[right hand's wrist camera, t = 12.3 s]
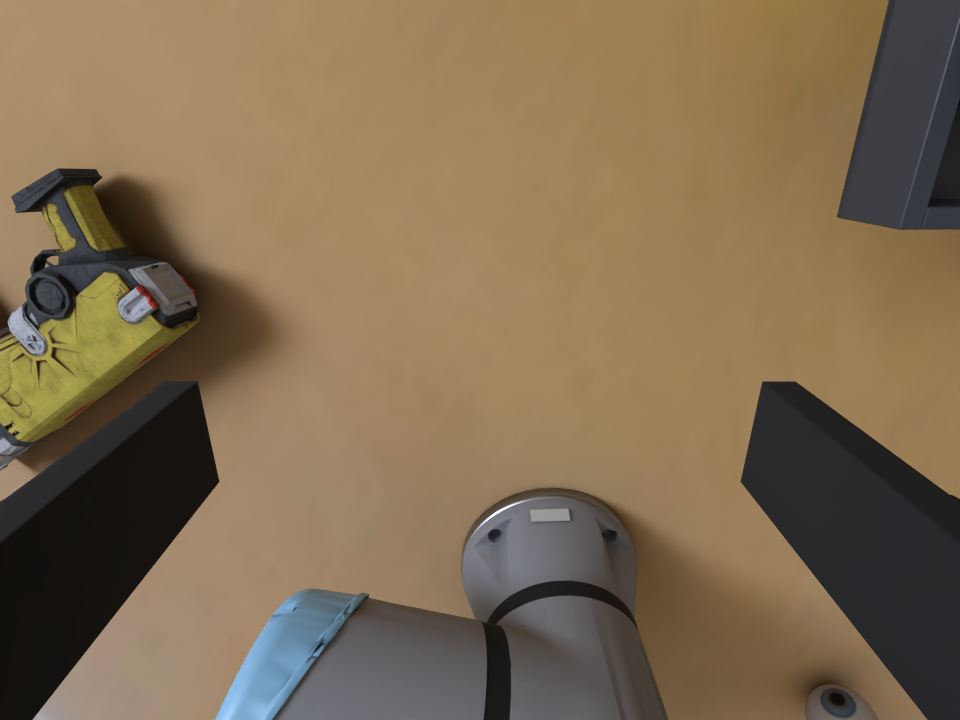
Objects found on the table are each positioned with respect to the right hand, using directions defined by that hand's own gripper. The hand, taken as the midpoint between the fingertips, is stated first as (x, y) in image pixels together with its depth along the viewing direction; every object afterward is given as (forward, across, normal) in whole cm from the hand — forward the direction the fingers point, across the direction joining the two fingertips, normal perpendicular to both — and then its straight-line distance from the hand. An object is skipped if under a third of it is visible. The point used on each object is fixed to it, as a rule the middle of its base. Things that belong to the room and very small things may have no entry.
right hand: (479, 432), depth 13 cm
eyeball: (+27, -35, +45) cm, 63 cm away
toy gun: (+27, +33, +5) cm, 43 cm away
